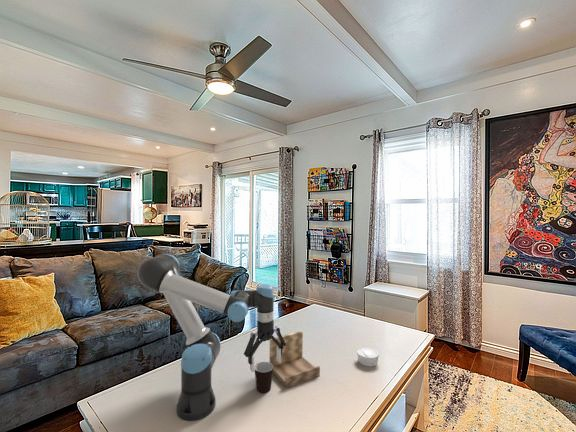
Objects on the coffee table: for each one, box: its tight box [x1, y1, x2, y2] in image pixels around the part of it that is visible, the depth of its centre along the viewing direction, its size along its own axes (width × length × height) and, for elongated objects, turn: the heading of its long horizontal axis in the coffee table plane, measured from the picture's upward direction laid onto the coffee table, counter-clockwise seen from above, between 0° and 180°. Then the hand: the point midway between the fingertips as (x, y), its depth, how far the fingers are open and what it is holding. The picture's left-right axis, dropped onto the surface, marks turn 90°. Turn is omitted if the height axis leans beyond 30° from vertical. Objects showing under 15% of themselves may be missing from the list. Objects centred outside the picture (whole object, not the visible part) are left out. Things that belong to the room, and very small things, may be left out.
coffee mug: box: [254, 361, 274, 394], centre depth 130 cm, size 12×9×10 cm
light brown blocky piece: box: [269, 330, 321, 389], centre depth 141 cm, size 19×16×16 cm
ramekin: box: [356, 347, 380, 368], centre depth 152 cm, size 11×11×5 cm
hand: (265, 366), depth 130 cm, fingers open, 13 cm apart
